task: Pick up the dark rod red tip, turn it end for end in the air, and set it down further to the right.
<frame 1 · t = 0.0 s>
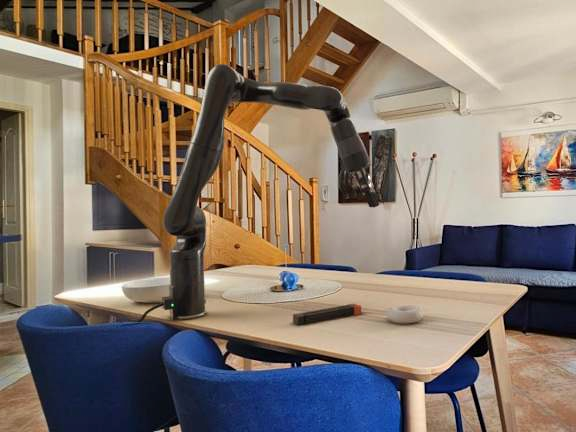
hand: (374, 206, 120), 31 cm above the table, tool tilted 20°, fingers open, 8 cm apart
donut: (404, 320, 115), on the table
dark rod red tip: (295, 324, 113), on the table
serving bowl: (156, 301, 149), on the table
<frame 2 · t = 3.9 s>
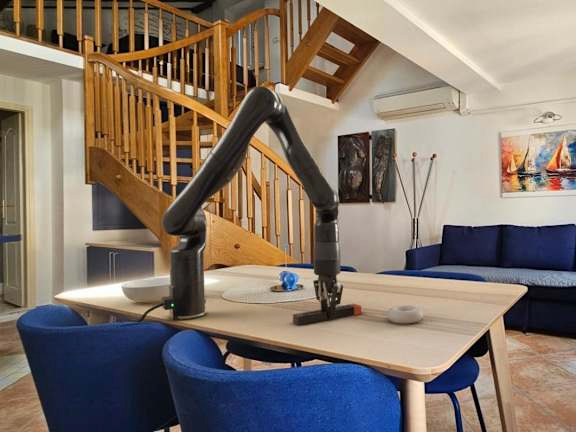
hand: (328, 317, 119), 0 cm above the table, tool pointing down, fingers closed on dark rod red tip, 3 cm apart
dark rod red tip: (295, 324, 113), on the table, touching gripper
everything else where it was.
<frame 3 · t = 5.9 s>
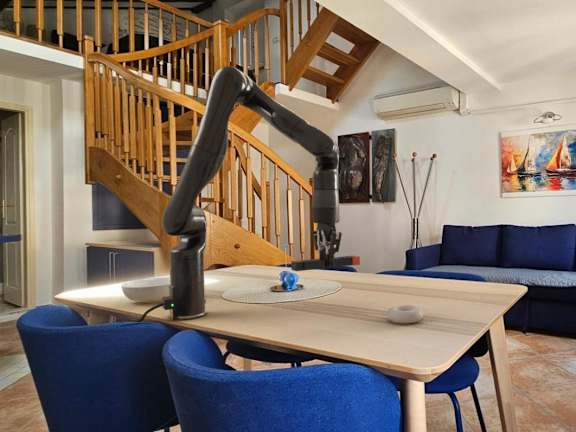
hand: (326, 266, 119), 15 cm above the table, tool pointing down, fingers closed on dark rod red tip, 3 cm apart
dark rod red tip: (293, 270, 113), point 15 cm above the table, touching gripper
everything else where it was.
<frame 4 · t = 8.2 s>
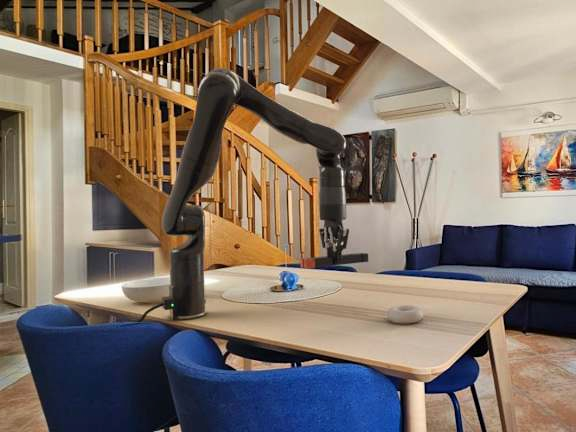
hand: (334, 263, 118), 16 cm above the table, tool pointing down, fingers closed on dark rod red tip, 3 cm apart
dark rod red tip: (365, 261, 124), point 15 cm above the table, touching gripper
everything else where it was.
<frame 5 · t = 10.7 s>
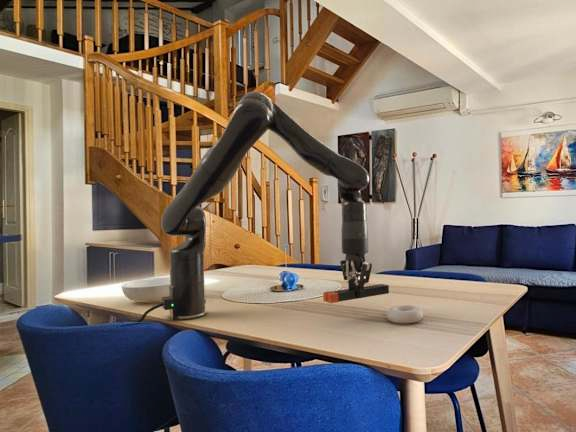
hand: (356, 296, 119), 6 cm above the table, tool pointing down, fingers closed on dark rod red tip, 3 cm apart
dark rod red tip: (385, 292, 125), point 6 cm above the table, touching gripper
everything else where it was.
when the fingers open (0 cm above the table, at t = 12.4 s): dark rod red tip stays where it is, on the table.
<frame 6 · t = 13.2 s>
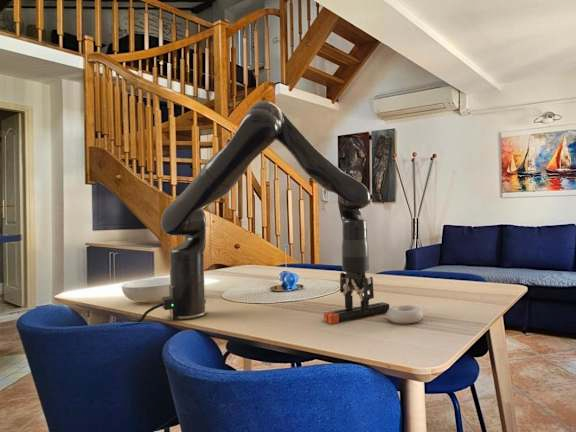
hand: (356, 310, 120), 2 cm above the table, tool pointing down, fingers open, 8 cm apart
dark rod red tip: (386, 311, 126), on the table
everything else where it was.
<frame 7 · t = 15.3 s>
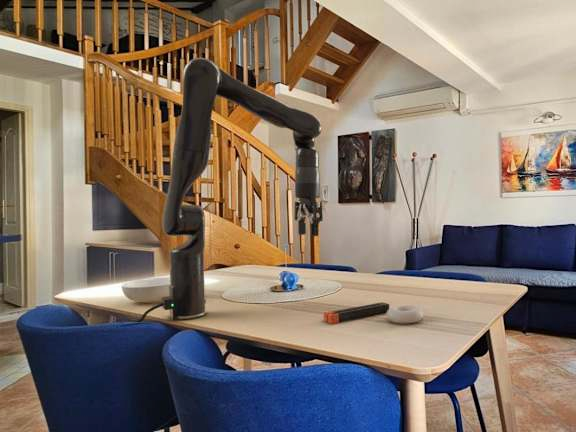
hand: (308, 235, 128), 23 cm above the table, tool pointing down, fingers open, 8 cm apart
nothing on the table moved.
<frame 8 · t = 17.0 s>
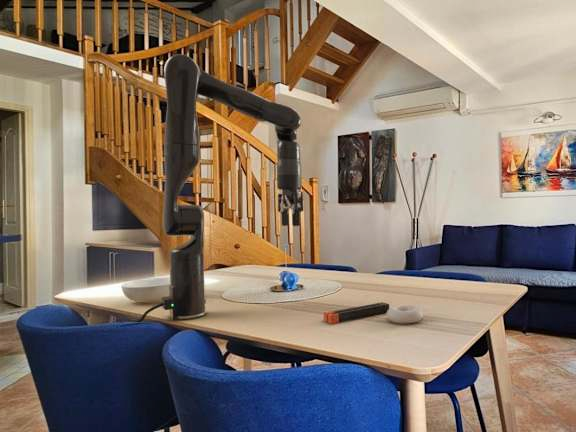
hand: (290, 225, 131), 26 cm above the table, tool pointing down, fingers open, 8 cm apart
nothing on the table moved.
at the end: dark rod red tip 0.3 cm from the target spot, on the table; dark rod red tip moved 27.6 cm from its start; the gripper is holding nothing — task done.
